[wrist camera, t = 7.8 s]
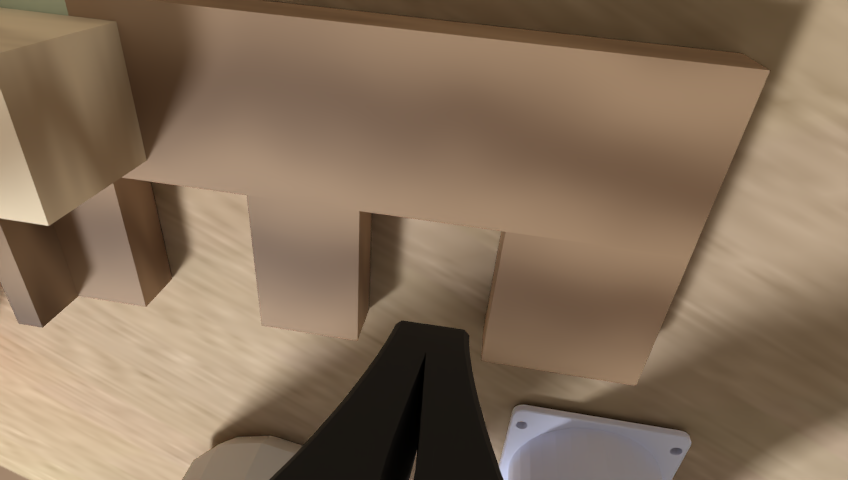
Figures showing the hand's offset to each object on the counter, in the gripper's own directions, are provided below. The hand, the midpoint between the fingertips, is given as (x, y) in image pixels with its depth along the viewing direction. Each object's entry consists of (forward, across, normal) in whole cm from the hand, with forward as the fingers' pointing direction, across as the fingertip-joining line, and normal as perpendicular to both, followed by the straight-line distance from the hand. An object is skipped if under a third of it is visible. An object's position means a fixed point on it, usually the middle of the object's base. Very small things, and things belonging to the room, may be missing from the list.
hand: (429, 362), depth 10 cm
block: (+8, +13, -2) cm, 15 cm away
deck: (+10, +4, +1) cm, 11 cm away
